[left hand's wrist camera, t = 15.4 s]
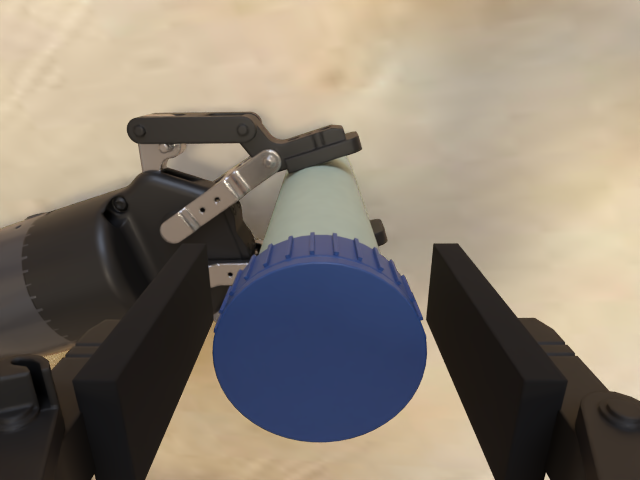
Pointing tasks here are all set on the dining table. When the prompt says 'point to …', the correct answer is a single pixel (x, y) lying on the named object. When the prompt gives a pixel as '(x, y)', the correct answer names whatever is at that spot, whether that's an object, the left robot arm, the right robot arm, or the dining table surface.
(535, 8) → the dining table surface
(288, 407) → the lid
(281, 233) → the pale green cylinder
